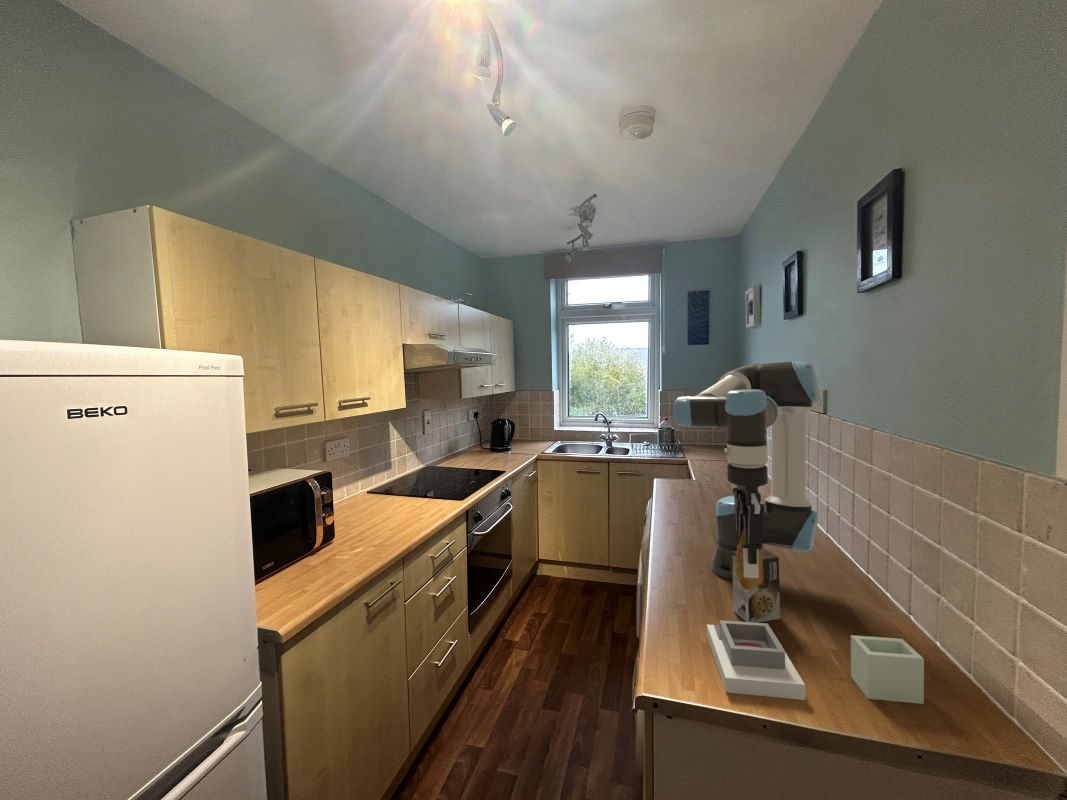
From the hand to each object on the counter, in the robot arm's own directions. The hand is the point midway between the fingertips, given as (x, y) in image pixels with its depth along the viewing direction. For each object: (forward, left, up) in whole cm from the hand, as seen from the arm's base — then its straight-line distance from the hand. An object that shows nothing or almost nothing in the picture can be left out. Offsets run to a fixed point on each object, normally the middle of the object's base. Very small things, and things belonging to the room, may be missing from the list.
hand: (749, 573), depth 89 cm
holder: (+4, +23, -20) cm, 30 cm away
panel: (0, 0, -20) cm, 20 cm away
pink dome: (0, 0, -19) cm, 19 cm away
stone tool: (0, 0, -4) cm, 4 cm away
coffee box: (-20, +7, -20) cm, 29 cm away
